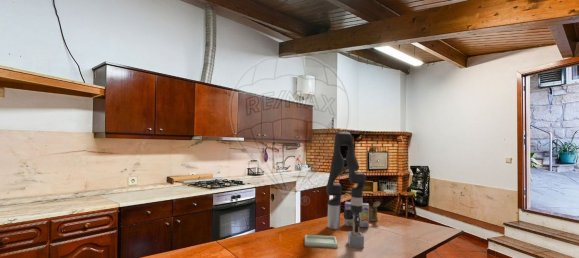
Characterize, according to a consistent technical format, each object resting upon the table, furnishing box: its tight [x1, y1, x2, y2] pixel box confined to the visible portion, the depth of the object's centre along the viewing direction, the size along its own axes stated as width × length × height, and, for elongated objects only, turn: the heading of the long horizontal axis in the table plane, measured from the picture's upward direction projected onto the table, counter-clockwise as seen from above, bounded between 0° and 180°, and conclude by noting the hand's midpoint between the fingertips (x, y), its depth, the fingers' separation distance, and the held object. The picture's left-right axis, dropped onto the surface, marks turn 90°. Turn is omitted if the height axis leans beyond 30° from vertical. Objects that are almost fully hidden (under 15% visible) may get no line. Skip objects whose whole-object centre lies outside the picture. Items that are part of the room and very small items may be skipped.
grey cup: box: [347, 230, 365, 249], centre depth 187 cm, size 9×9×7 cm
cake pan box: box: [343, 201, 370, 228], centre depth 229 cm, size 19×5×18 cm, turn 73°
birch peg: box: [352, 222, 360, 235], centre depth 187 cm, size 4×4×13 cm
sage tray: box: [304, 234, 338, 249], centre depth 188 cm, size 14×20×2 cm
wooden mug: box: [369, 200, 381, 223], centre depth 245 cm, size 9×14×18 cm, turn 13°
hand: (355, 231), depth 187 cm, fingers closed on birch peg, 4 cm apart
